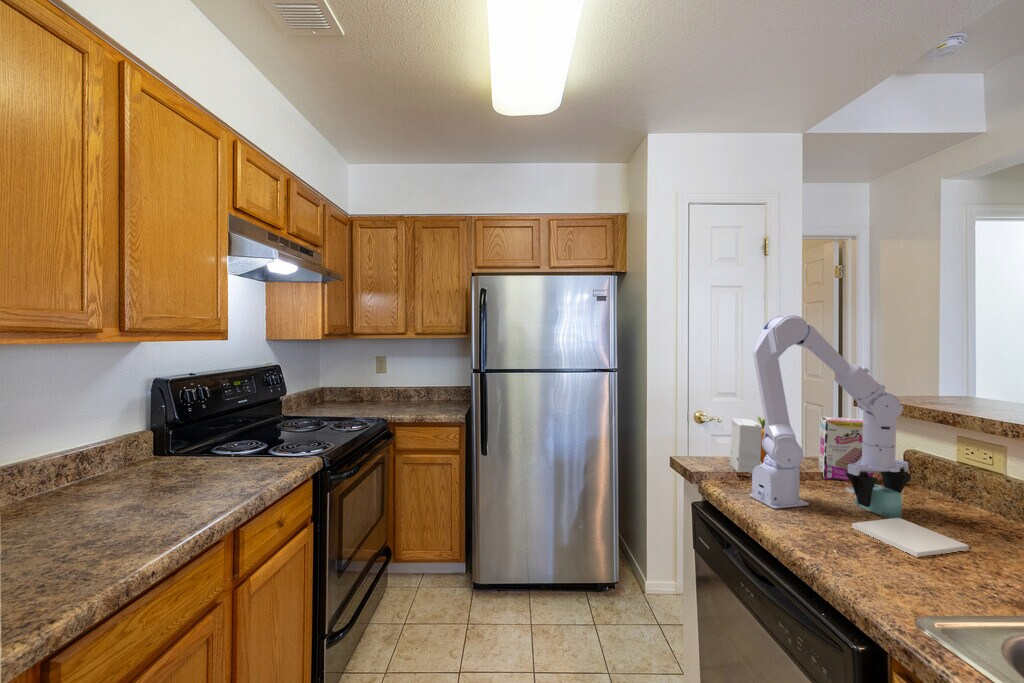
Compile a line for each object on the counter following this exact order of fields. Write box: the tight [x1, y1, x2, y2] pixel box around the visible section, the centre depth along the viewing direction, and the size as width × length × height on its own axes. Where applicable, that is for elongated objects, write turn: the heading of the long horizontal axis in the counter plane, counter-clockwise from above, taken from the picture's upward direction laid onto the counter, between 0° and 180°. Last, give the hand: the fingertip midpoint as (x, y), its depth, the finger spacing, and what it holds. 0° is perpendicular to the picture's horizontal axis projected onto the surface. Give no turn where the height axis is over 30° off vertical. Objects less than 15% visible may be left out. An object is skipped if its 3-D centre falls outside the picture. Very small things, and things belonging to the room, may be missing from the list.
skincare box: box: [729, 417, 762, 473], centre depth 123 cm, size 8×6×15 cm
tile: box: [851, 517, 970, 558], centre depth 85 cm, size 12×12×1 cm
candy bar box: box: [818, 416, 874, 482], centre depth 118 cm, size 11×5×16 cm, turn 71°
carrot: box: [757, 416, 767, 464], centre depth 129 cm, size 5×5×15 cm
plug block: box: [845, 483, 903, 519], centre depth 99 cm, size 4×11×5 cm, turn 11°
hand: (877, 503), depth 98 cm, fingers open, 7 cm apart
